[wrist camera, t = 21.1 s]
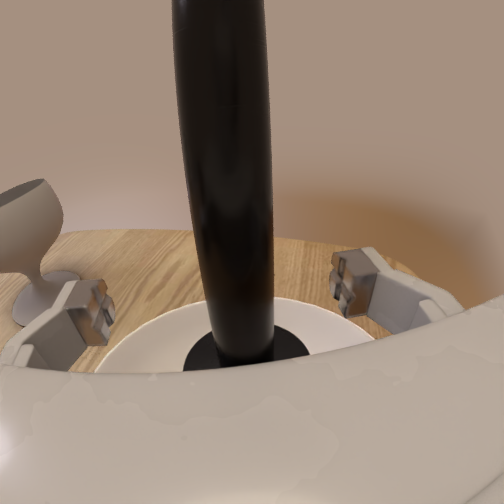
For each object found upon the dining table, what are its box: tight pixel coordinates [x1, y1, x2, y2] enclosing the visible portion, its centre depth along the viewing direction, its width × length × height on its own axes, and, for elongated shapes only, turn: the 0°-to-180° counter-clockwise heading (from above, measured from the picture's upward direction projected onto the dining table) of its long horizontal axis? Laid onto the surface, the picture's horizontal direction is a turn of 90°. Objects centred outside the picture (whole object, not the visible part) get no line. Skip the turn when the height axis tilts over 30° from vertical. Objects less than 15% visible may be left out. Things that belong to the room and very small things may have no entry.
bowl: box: [93, 297, 375, 373], centre depth 14 cm, size 20×20×6 cm
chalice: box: [0, 179, 80, 326], centre depth 27 cm, size 14×14×15 cm
